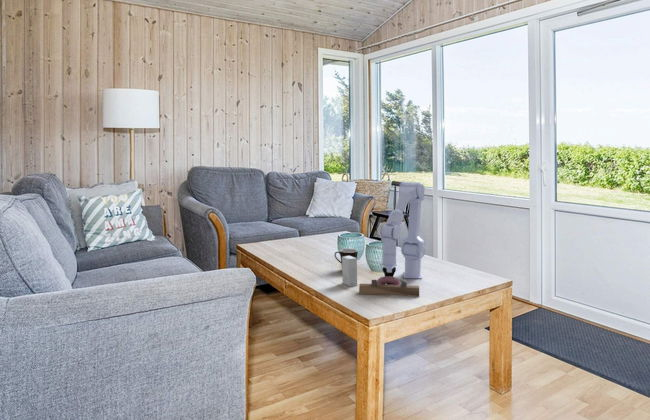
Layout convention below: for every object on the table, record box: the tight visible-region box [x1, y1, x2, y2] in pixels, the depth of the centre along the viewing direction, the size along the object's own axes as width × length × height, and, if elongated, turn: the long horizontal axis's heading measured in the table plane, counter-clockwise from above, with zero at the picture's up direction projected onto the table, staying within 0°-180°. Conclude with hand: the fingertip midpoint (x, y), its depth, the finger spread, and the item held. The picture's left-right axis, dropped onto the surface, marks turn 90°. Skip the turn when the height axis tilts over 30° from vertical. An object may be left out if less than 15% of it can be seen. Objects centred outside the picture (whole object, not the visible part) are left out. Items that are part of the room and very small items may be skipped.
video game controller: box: [376, 275, 401, 285], centre depth 189 cm, size 10×5×7 cm, turn 82°
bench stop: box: [358, 279, 420, 297], centre depth 184 cm, size 3×24×6 cm, turn 82°
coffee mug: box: [334, 248, 359, 265], centre depth 221 cm, size 12×9×10 cm
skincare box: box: [341, 256, 358, 287], centre depth 197 cm, size 6×4×12 cm
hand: (388, 284), depth 193 cm, fingers closed
